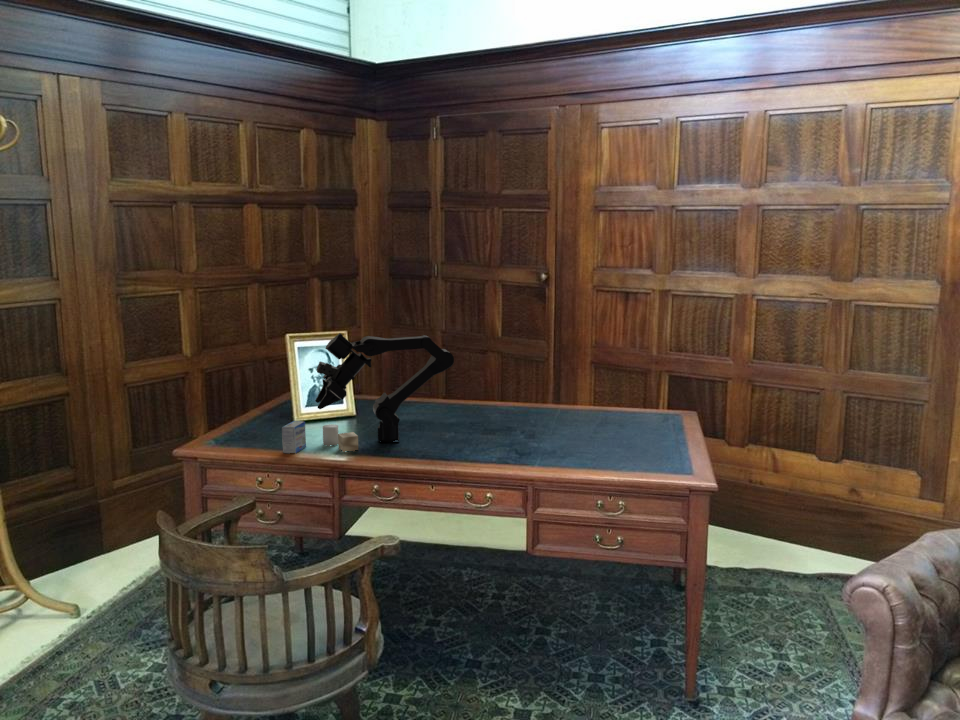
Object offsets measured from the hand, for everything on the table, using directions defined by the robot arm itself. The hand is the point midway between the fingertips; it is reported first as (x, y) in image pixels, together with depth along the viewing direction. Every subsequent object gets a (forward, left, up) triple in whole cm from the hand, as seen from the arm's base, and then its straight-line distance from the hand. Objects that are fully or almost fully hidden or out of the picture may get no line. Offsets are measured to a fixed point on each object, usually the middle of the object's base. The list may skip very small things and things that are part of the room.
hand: (317, 405), depth 256 cm
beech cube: (-10, +5, -14) cm, 18 cm away
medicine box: (+7, +4, -14) cm, 16 cm away
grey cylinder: (-4, -2, -14) cm, 14 cm away
